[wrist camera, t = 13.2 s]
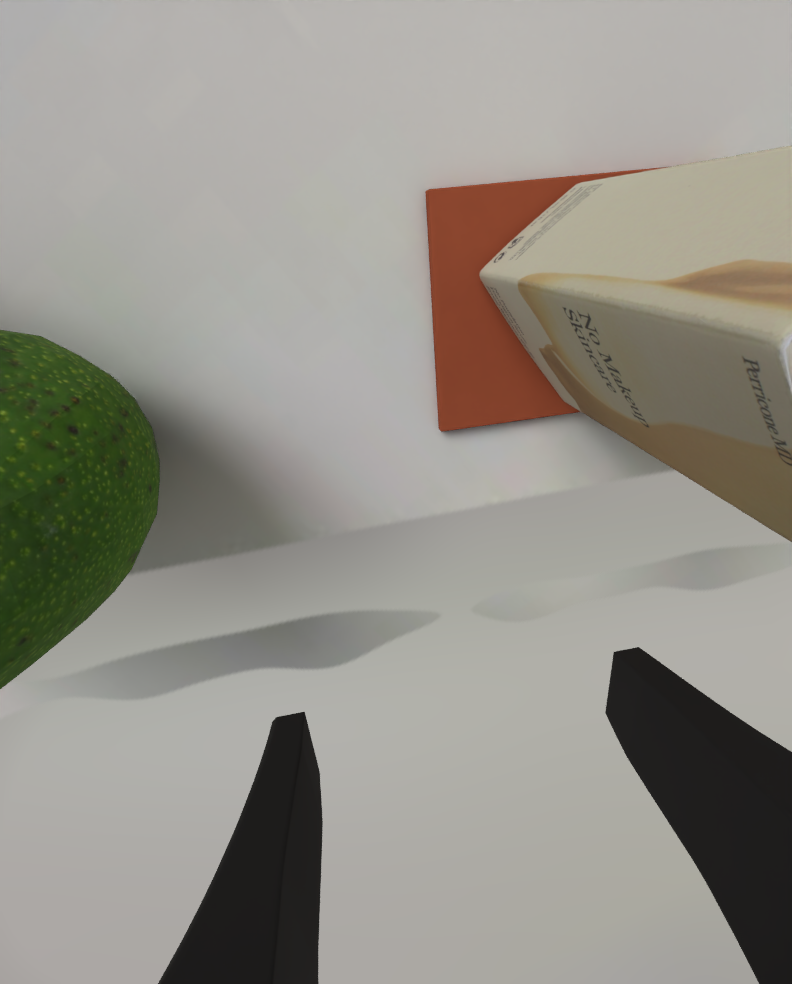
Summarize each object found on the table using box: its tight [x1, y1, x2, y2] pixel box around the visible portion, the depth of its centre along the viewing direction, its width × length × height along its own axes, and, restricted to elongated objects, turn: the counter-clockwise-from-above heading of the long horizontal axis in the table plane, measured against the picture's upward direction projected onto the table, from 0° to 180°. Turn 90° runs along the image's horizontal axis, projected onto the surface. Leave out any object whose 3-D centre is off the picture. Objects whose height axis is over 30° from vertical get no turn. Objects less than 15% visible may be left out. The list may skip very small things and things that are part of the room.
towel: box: [426, 167, 668, 431], centre depth 18 cm, size 10×8×1 cm
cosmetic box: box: [479, 146, 792, 542], centre depth 13 cm, size 6×4×12 cm
